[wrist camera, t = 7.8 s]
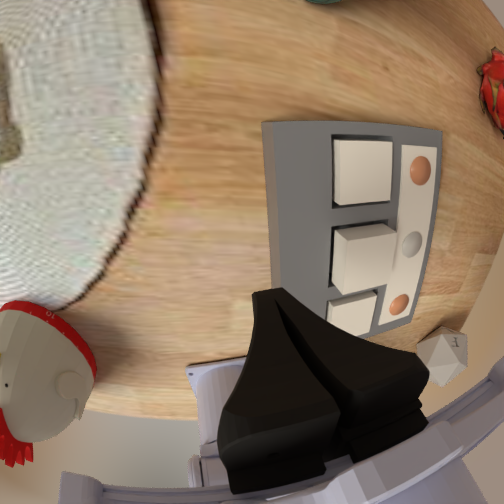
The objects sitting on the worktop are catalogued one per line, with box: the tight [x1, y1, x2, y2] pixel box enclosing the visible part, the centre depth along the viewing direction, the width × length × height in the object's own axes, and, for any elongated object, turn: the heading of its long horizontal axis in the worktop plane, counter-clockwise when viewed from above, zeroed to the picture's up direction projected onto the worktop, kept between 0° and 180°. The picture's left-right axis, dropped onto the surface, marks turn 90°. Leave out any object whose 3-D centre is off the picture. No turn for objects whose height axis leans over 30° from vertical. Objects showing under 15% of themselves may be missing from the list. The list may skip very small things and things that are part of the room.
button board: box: [261, 121, 442, 339], centre depth 22 cm, size 20×15×3 cm
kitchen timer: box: [0, 300, 97, 467], centre depth 16 cm, size 14×14×15 cm
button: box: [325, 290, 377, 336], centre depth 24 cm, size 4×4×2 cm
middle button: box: [332, 223, 397, 295], centre depth 20 cm, size 4×4×2 cm
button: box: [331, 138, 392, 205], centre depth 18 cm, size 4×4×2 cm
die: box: [417, 326, 467, 387], centre depth 31 cm, size 8×9×10 cm
